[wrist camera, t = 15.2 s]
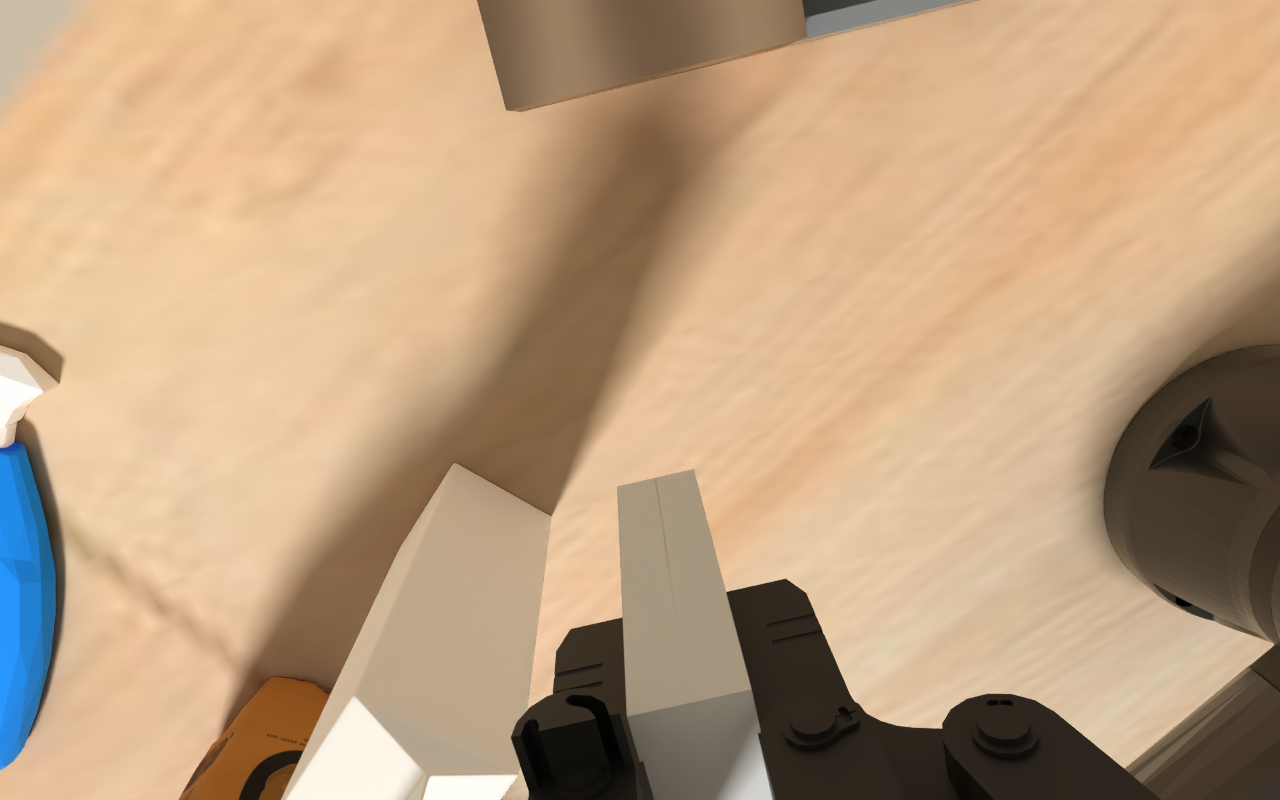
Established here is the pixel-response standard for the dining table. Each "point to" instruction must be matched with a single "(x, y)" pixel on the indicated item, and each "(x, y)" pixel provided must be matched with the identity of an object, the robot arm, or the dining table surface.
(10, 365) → the spray bottle
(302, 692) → the coffee package
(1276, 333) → the dining table surface
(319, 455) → the dining table surface
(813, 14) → the box
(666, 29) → the block
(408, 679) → the milk
